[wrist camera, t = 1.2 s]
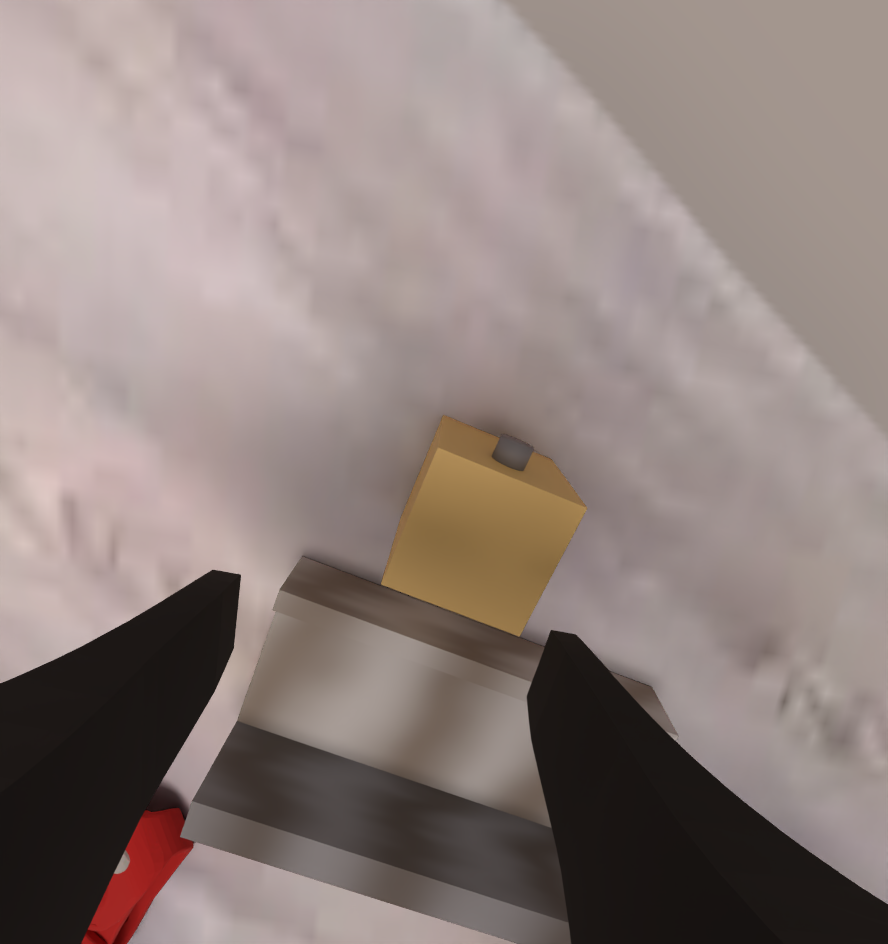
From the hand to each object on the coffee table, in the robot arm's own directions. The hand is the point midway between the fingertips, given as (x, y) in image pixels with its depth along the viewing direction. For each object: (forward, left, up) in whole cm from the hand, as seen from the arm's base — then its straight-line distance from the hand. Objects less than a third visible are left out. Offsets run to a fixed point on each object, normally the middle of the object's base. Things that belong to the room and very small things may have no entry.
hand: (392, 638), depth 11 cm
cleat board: (-5, +10, -11) cm, 15 cm away
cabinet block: (-2, -1, -11) cm, 11 cm away
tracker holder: (+9, +27, -11) cm, 31 cm away
